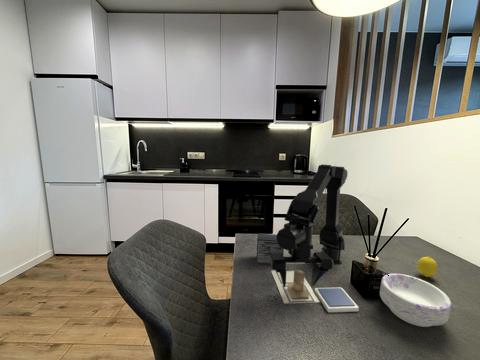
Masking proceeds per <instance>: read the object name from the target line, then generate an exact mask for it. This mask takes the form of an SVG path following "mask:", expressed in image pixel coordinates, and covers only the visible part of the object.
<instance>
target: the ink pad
mask: <svg viewBox="0 0 480 360" xmlns="http://www.w3.org/2000/svg"><path fill="white" fill-rule="evenodd" d="M314 293H315V295H316V296H317V298H318V299H319V301H320V303H321V304H322V305H323V307H324V308H325V310H326V312H328V313H347V312H348V313H350V312H353V313H354V312H359V309H360V307H359V306H358V305H357V303H355V301H354V300H353V299H352V298H351V297H350V296H349V295H350V294H348V293H347V291H345V289H343V288H342V287H339V286H338V287H315V288H314Z"/></svg>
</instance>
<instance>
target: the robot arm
mask: <svg viewBox="0 0 480 360" xmlns="http://www.w3.org/2000/svg"><path fill="white" fill-rule="evenodd" d="M347 177H348V170H347V169H346V168H345V167H344V166H338V165H337V166H336V165H333V164H319V165H318V167H317V171H316V173H315V174H314V176H313V177H312V179H311V180H310V182H309V183H308V186H307V187H306V188H305V190H302V191H301V192H299V193H297V194H296V195H295V196H294V198H292V200H291V201H290V204H289V206H288V208H287V211H286V215H285V216H284V221H287V223H284V225H283V227H282V228H281V229H280V230H279V231H277V234H276V235H277V242H278V244H279V245H280V246H281V248H283V249H284V250H286V251H288V255H290V256H284V255H282V253H270V254H269V263H270V267H271V269H272V271H275V270H276V272H279V273H280V276H281V280H282V284H283V286H284V287H285V285H286V270H287V269H286V268H287V265H288V264H290V265H291V264H292V265H293V264H294V265H296V264H299V265H301V264H312V271H311V279H310V280H311V282H310V283H311V286H312V287H315V285H316V284H317V283H318V282H319V280H320V279H321V278H322V277H323V275H325V274H326V273H327V272H329V271H330V270H333V269H334V264H335V265H336V264H337V265H338V264H342V263H343V261H341V260H340V259H341V253H342V252H341V251H345V250H346V249H345V248H346V240H345V238H344V235H343V228H342V227H341V226H340V224H339V220H340V219H339V218H340V217H339V216H340V199H341V198H340V196H341V189H342V187H343V186H344V184H345V183H346V180H347V179H348V178H347ZM325 189H326V201H325V202H326V203H325V204H326V206H325V224H324V225H323V226H322V228H321V229H320V232H319V236H318V237H319V245H322V248H321V251H315V252H313V253H312V250H314V245H313V244H312V243H313V242H312V241H313V231H314V224H315V223H316V221H317V219H318V215H319V214H320V210H321V209H320V208H321V207H320V199H321V196H322V195H323V193H324V192H325ZM311 254H312V256H311Z"/></svg>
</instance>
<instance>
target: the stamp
mask: <svg viewBox="0 0 480 360" xmlns="http://www.w3.org/2000/svg"><path fill="white" fill-rule="evenodd" d="M294 270H295V271H294V280H293V284H288V290H289V293H290V295H291V297H292V299H309V293H308V291H307V290H306V288H305V286H304V277H305V276H306V275H305V274H306V273H305V272H304V271H303V270H300V269H294ZM305 278H306V277H305Z"/></svg>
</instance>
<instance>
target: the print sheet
mask: <svg viewBox="0 0 480 360" xmlns="http://www.w3.org/2000/svg"><path fill="white" fill-rule="evenodd" d="M295 270H296V269H288V270H287V269H286V285H285V287H284V286H283V284H282V280H281V276H280V273H279V272H276V270H270V272H271V274H272V277H273V280H274V282H275V284H276V287H277V289H278V292H279V294H280V296H281V299H282V301H283V304H285V305H286V304H310V303H311V304H312V303H313V304H314V303H321V301H320V299H319V298H318V296H317V294H316V293H315V291H314V290H313V288H312V287H311V286H310V284H309V282H308V281H307V279H306V277H304V286H305V288H306V290H307V291H308V293H309V299H292V297H291V295H290V293H289V290H288V284H293V280H294V271H295Z"/></svg>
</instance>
